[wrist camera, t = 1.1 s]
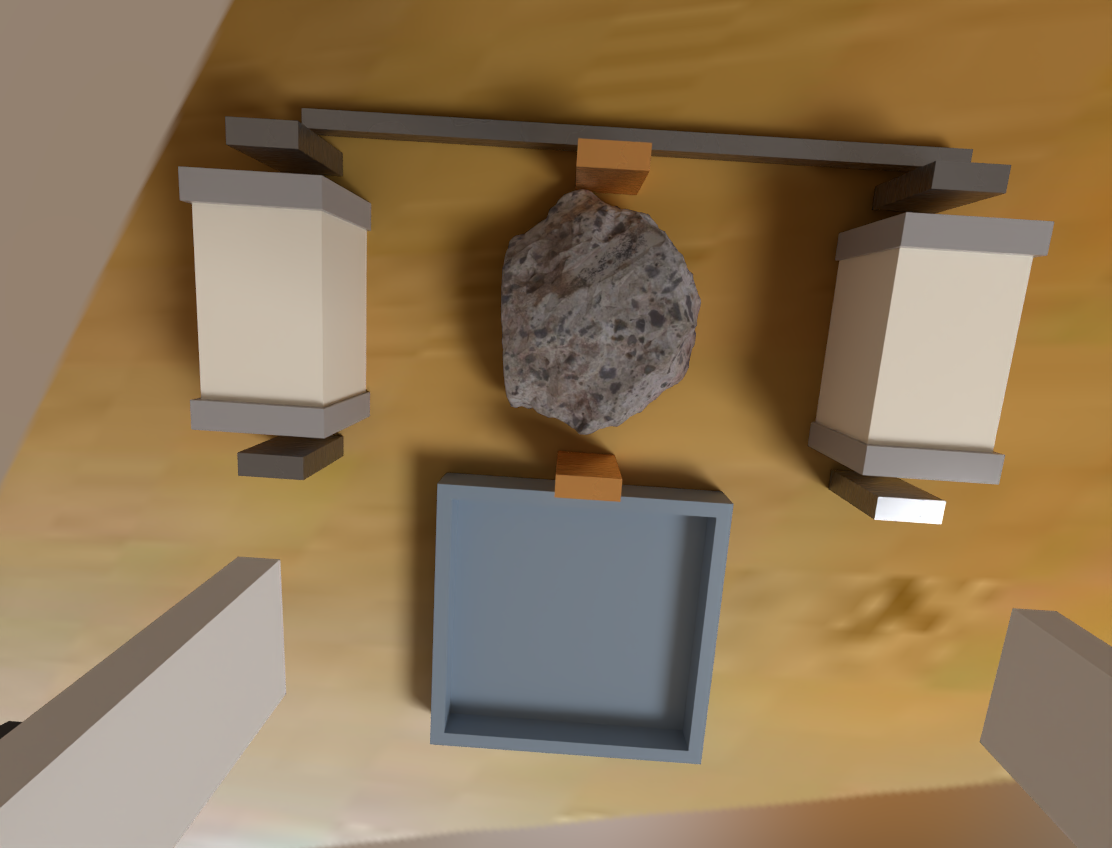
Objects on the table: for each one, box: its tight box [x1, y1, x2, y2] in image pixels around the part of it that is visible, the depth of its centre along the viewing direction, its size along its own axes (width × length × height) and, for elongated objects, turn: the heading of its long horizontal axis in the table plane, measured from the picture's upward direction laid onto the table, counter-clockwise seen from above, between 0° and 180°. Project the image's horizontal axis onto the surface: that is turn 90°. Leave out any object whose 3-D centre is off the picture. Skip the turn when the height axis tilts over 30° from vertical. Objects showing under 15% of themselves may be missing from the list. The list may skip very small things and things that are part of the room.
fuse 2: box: [808, 212, 1054, 484], centre depth 25 cm, size 10×5×5 cm, turn 176°
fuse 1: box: [178, 166, 371, 438], centre depth 25 cm, size 10×5×5 cm, turn 176°
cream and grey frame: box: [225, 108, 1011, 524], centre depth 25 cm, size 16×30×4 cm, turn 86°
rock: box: [501, 189, 701, 435], centre depth 26 cm, size 9×11×4 cm
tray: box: [430, 473, 733, 764], centre depth 29 cm, size 14×14×2 cm
